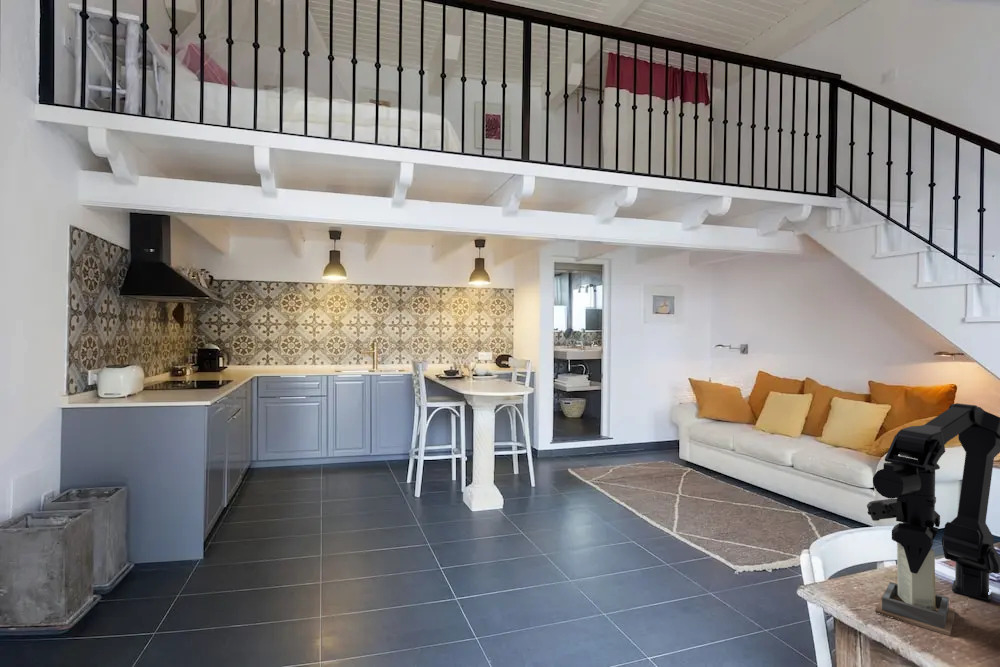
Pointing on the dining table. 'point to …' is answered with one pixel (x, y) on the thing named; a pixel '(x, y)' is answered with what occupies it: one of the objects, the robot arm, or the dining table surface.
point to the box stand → (917, 611)
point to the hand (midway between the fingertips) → (916, 566)
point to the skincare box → (916, 581)
